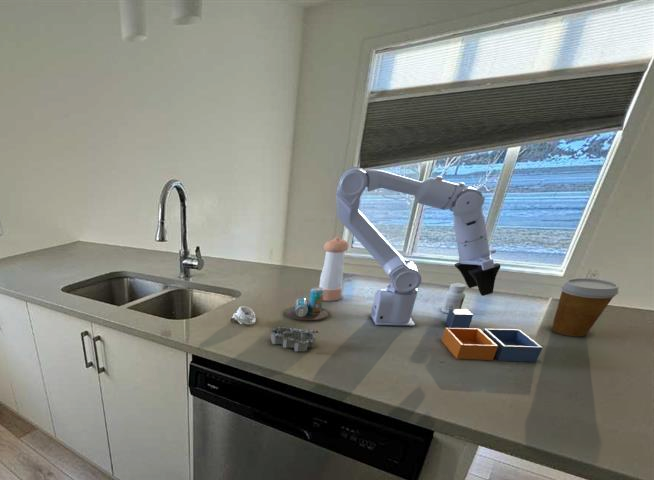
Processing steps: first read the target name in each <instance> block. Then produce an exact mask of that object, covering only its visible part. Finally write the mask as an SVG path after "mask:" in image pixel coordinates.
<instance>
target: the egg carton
mask: <svg viewBox="0 0 654 480" xmlns="http://www.w3.org/2000/svg"><path fill="white" fill-rule="evenodd" d="M269 331H270V332H271V335H270V336H271V337H270V338H271V339H270V341H271V344H273V345H282V348H283V349H284V348H285V349H288V348H290V349H291V348H292V349H294V352H296V353H297V352H307V351H308V348H314V347H315V344H316V336H317V335H318V334H319V331H318V330H315V329H312V328H310V329H309V328H307V330H305V329H304V328H302V329H298V328H292V327H291V328H290V327H288V326H286V325H282V326H281V325H280V326H278V327H276V328H273V329H269Z"/></svg>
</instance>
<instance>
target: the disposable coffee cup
mask: <svg viewBox="0 0 654 480" xmlns="http://www.w3.org/2000/svg"><path fill="white" fill-rule="evenodd" d="M619 287H620V286H619V284H618V283H616V282H614V281H613V282H612V281H608V280H605V279H598V278H587V277H586V278H585V277H578V278H577V277H576V278H574V277H573V278H568V279H567V280H566V281H565V282H564V283H563V284H561V286H560V288H561V293H560V296H559V300H558V303H557V308H556V311H555V315H554V319H553V322H552V326H551V331H553V332H555V333H557V334H559V335H564V336H568V337H584V336H587V335H588V333H590V330H591V329H592V328H593V326H594V324H595V323H596V322H597V321H598V319H599V318H600V317H601V315H602V314H603V312H604V311H605V309H606V308H607V306H608V305H609V304H610V303H611V301H612V300H613V298H614V297H616V296H617V295H619V294H620V291H619Z"/></svg>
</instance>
